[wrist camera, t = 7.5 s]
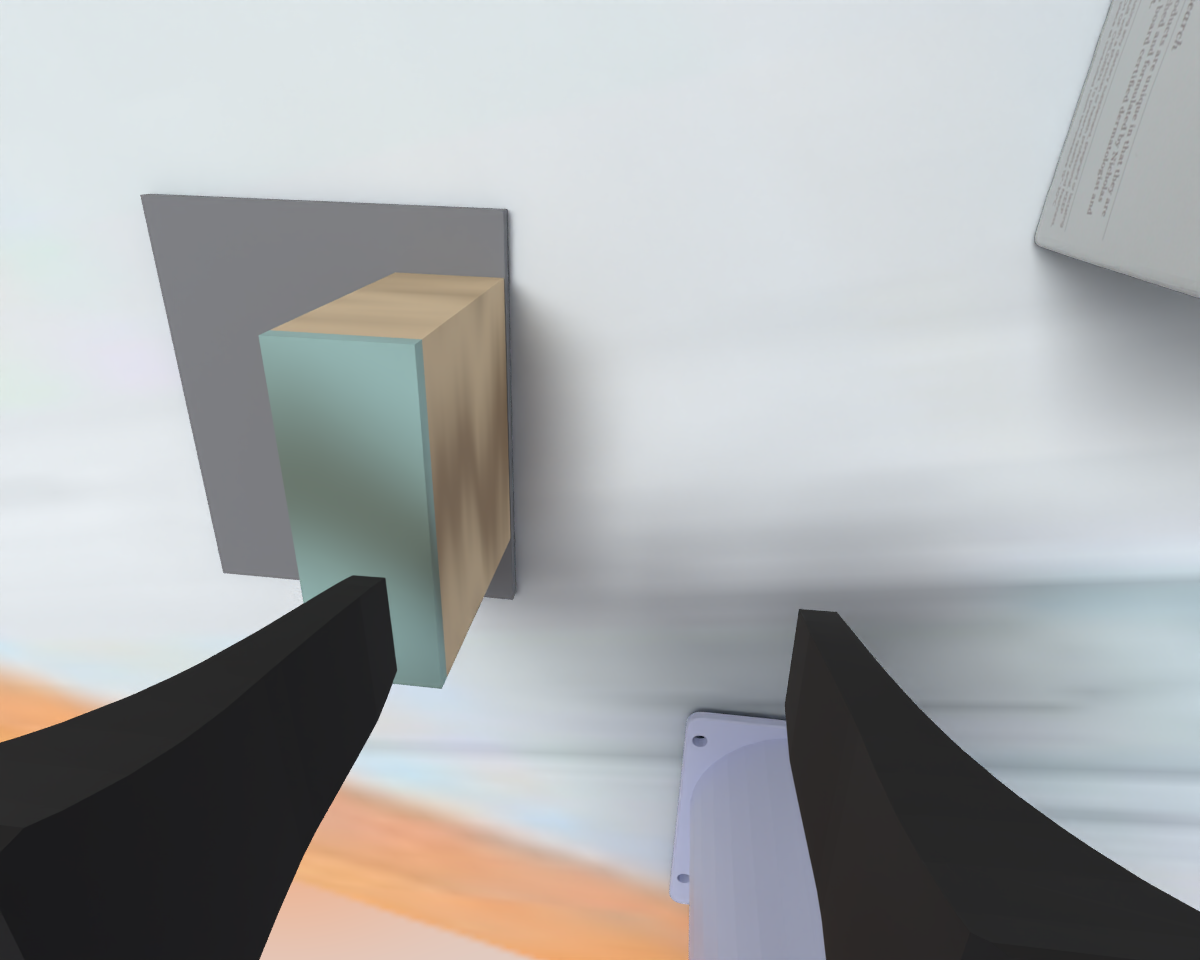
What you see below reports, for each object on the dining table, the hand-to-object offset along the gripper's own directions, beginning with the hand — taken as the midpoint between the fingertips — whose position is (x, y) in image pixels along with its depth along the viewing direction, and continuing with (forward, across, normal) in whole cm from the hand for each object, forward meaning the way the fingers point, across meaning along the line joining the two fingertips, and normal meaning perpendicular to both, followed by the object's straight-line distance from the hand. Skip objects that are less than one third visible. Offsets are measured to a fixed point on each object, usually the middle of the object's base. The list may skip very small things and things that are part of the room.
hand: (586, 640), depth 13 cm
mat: (+10, +9, 0) cm, 13 cm away
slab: (+9, +5, 0) cm, 11 cm away
